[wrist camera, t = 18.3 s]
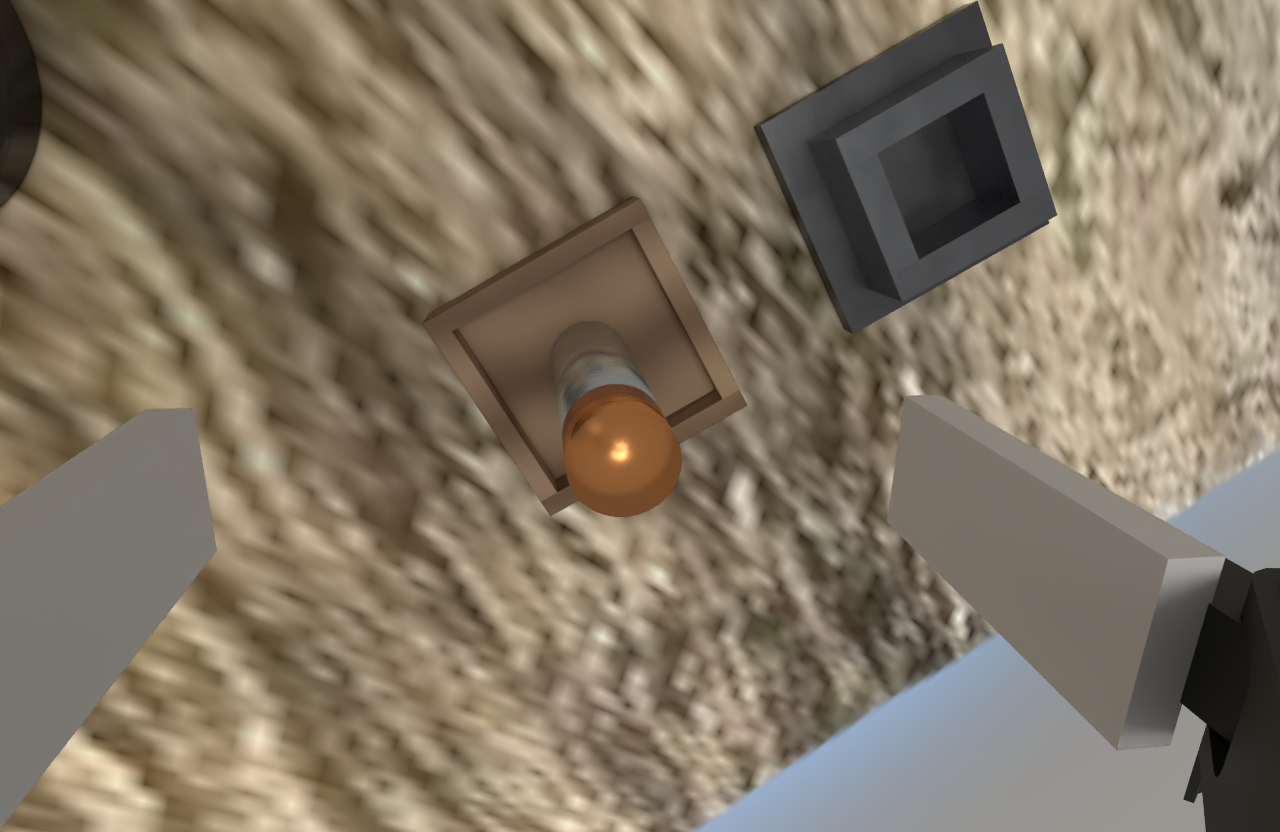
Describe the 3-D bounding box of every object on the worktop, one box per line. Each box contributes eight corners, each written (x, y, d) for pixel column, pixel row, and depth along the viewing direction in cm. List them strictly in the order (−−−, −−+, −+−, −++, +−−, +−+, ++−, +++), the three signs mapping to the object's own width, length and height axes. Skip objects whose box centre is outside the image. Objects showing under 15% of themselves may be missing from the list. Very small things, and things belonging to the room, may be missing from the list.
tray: (428, 313, 39) (422, 324, 37) (632, 196, 39) (640, 198, 37) (548, 496, 44) (550, 516, 41) (734, 391, 43) (747, 405, 41)
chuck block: (753, 126, 39) (785, 122, 34) (964, 5, 38) (1025, -16, 34) (844, 329, 43) (884, 350, 38) (1035, 221, 43) (1098, 229, 38)
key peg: (550, 395, 41) (565, 518, 27) (550, 321, 40) (565, 409, 26) (626, 394, 41) (678, 514, 27) (627, 320, 40) (684, 407, 26)
